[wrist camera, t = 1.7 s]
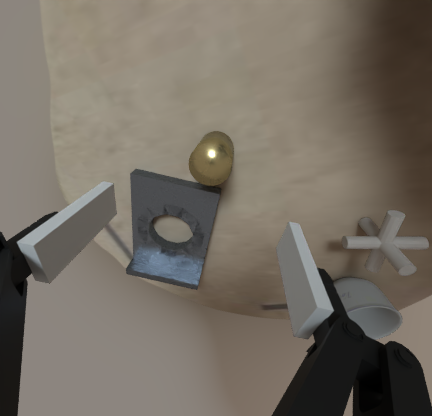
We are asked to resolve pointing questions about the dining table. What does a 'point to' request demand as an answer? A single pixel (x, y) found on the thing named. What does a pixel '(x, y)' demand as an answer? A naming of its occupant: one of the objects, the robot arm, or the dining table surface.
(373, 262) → the pipe connector
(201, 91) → the dining table surface
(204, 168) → the gold round-ended peg
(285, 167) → the dining table surface
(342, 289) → the teacup
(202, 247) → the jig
